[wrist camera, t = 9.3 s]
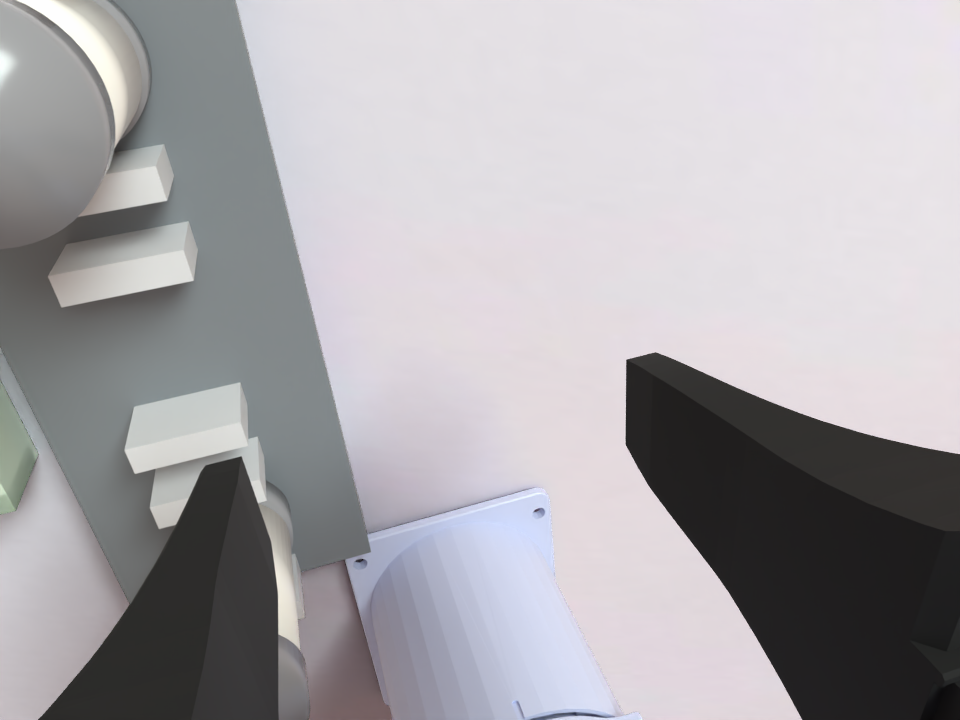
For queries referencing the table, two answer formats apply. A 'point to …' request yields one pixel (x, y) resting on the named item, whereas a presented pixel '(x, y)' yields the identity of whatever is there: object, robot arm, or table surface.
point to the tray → (13, 455)
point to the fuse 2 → (286, 609)
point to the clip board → (182, 316)
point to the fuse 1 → (63, 108)
